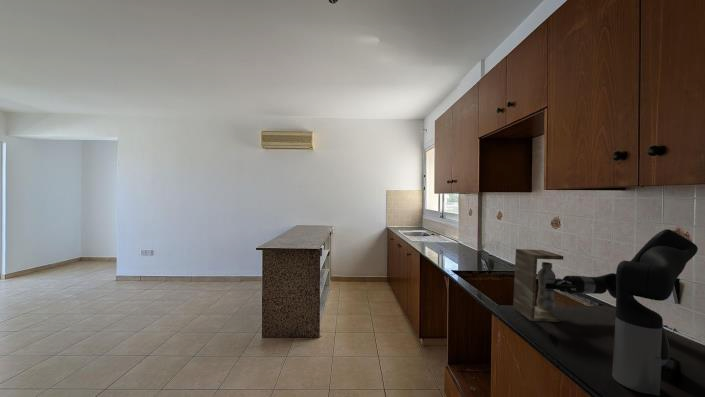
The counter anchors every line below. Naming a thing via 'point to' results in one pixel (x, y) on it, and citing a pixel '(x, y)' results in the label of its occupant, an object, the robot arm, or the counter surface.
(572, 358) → the counter surface
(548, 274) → the plastic bottle
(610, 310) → the counter surface
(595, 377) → the counter surface
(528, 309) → the cubby shelf
